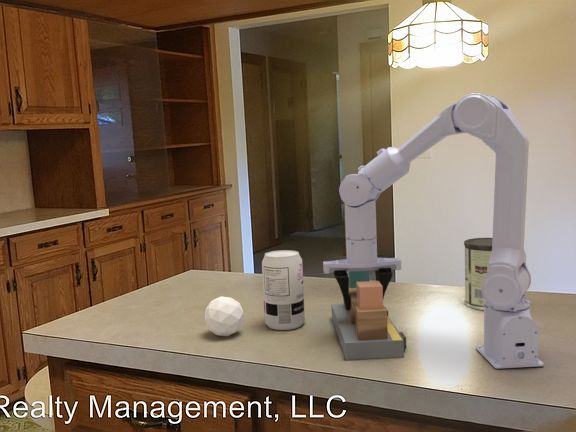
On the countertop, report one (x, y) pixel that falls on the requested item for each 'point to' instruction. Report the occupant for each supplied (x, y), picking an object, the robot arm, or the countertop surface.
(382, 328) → the brown long bar
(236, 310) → the ball
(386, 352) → the dock
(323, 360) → the countertop surface
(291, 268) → the supplement can
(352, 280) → the teal crate
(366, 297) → the terracotta brick
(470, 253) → the coffee can
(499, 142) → the robot arm
